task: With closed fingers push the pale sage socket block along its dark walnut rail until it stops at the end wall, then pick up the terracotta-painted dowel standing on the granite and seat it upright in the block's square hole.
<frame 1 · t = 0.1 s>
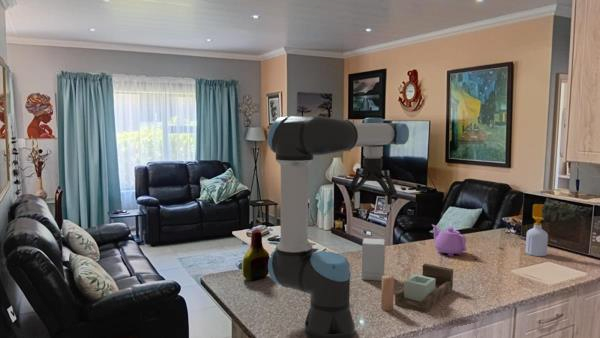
hand: (371, 210, 180), 28 cm above the worktop, fingers open, 13 cm apart
rail: (424, 296, 164), on the worktop
supplement box: (372, 277, 185), on the worktop
dowel: (387, 308, 153), on the worktop
socket block: (419, 287, 159), point 5 cm above the worktop, slide at 0.0 cm
soap bottle: (535, 254, 218), on the worktop
teapot: (447, 253, 219), on the worktop
bottle: (256, 278, 182), on the worktop
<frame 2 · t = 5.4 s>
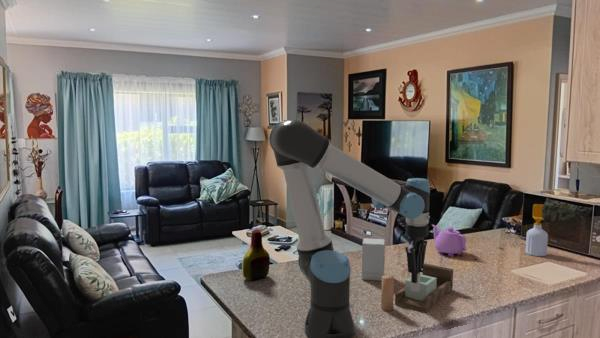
hand: (415, 290, 156), 5 cm above the worktop, fingers closed
socket block: (420, 287, 160), point 5 cm above the worktop, slide at 1.0 cm, touching gripper
everything else where it was.
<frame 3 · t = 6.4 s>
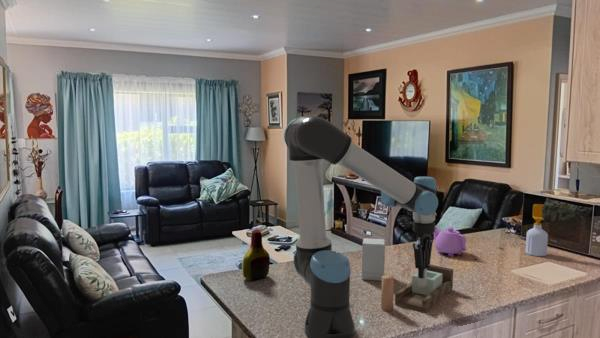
hand: (422, 285, 161), 5 cm above the worktop, fingers closed
socket block: (427, 282, 165), point 5 cm above the worktop, slide at 6.8 cm, touching gripper
everything else where it was.
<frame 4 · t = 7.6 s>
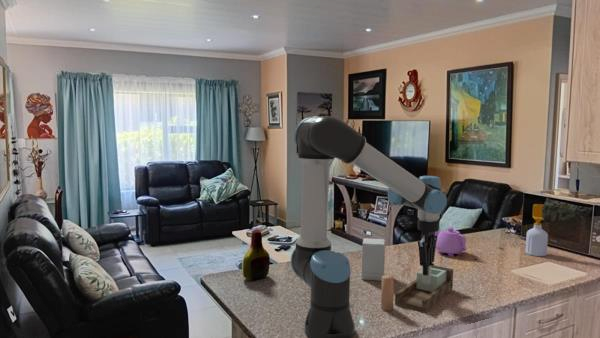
hand: (426, 283, 164), 5 cm above the worktop, fingers closed
socket block: (431, 279, 168), point 5 cm above the worktop, slide at 10.9 cm, touching gripper
everything else where it was.
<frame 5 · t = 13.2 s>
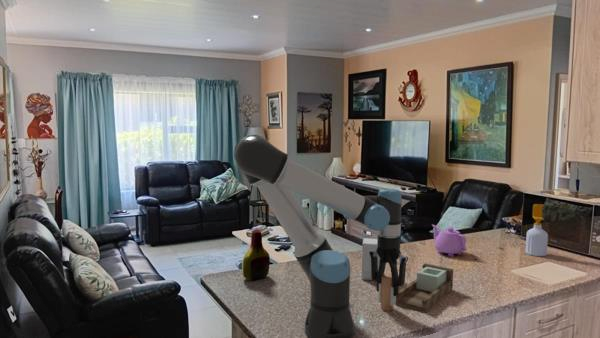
hand: (387, 302, 153), 2 cm above the worktop, fingers closed on dowel, 4 cm apart
dowel: (386, 308, 153), on the worktop, touching gripper
socket block: (431, 279, 168), point 5 cm above the worktop, slide at 10.9 cm
everything else where it was.
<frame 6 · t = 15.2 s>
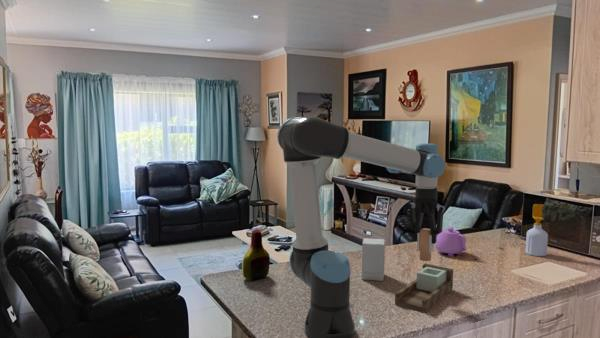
hand: (425, 250, 164), 17 cm above the worktop, fingers closed on dowel, 4 cm apart
dowel: (425, 259, 164), point 14 cm above the worktop, touching gripper
everything else where it was.
when the fingers open (9 cm above the worktop, at t = 17.4 s): dowel drops 2 cm, resting on socket block.
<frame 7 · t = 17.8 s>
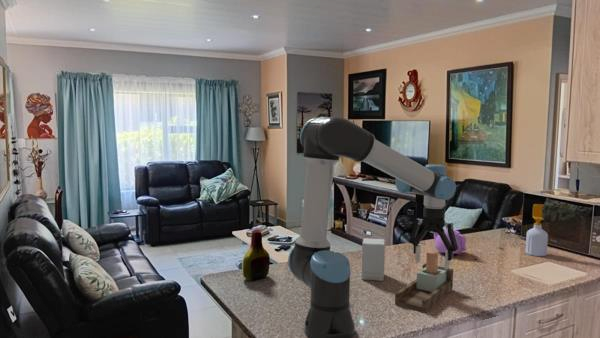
hand: (432, 265, 167), 10 cm above the worktop, fingers open, 10 cm apart
dowel: (431, 282, 168), point 4 cm above the worktop, touching socket block
socket block: (431, 279, 168), point 5 cm above the worktop, slide at 10.9 cm, touching dowel
everything else where it was.
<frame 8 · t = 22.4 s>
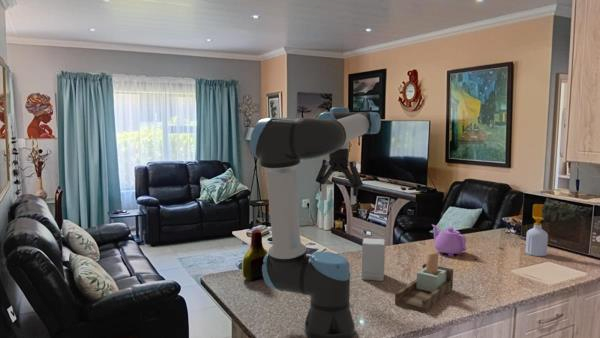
hand: (338, 202, 176), 32 cm above the worktop, fingers open, 13 cm apart
nothing on the worktop moved.
at the end: socket block slide at 10.9 cm; dowel 0.1 cm from the target spot, point 3.8 cm above the worktop; dowel tilted 1° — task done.
